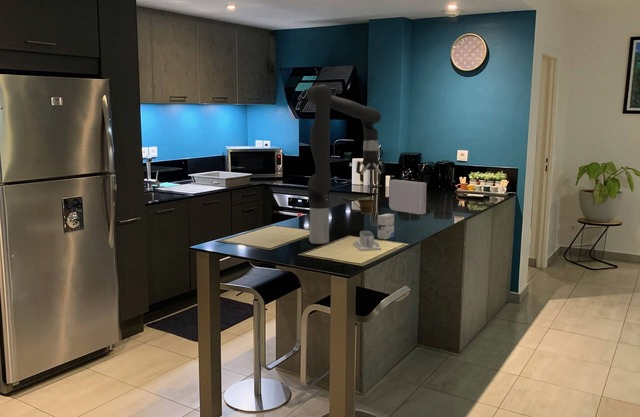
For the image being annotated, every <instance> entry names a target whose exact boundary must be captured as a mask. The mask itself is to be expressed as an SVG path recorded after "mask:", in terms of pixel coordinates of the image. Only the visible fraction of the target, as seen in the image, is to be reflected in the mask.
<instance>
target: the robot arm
mask: <svg viewBox="0 0 640 417" xmlns="http://www.w3.org/2000/svg"><path fill="white" fill-rule="evenodd" d="M306 98H307V100H308V102H309V103H310V104H312V105H314V106H315V117H314V121H313V124H312V126H311V130H310V138H309V139H310V145H309V146H310V151H311V154H312V157H313V161H314V167H315V170H314V172H315V173H314V174H312V175H311V176H309V178H308V182H307V196H308V197H307V199H308V203H309V223H308V224H309V225H308V227H309V228H308V229H309V230H308V232H309V235H308V236H309V237H308V238H309V243H311V244H315V245H318V244H319V245H320V244H321V245H322V244H327V243H328V244H329V242H330V206H329V205H330V203H329V200H328V198H327V196H326V195H327V193H328V192H330V190H331V189H332V188H331V187H332V177H331V165H330V164H331V163H330V162H331V161H330V155H331V152H330V148H331V147H330V146H331V135H330V134H331V133H330V129H331V128H330V127H331V125H330V124H331V123H330V122H331V120H330V118H331V109H332V110H335V111H338V112H340V113H342V114H345V115H347V116H350V117H353V118H355V119H360V120H361V125H362V126H361V127H362V129H363V145H362V149H363V151H362V152H363V153H362V154H363V155H362V157H363V158H362V161H360V160H359V161H358V160H357V161H356V168H355V169H356V174H359V181H360V182H361V183H364V174H365V172H366V171H367V170H368V171H371V170H372V171H373V170H375V171H376V173H377V174H376V175H377V179H376V180H377V182H378V183H380V182H381V180H382V174H384V173H385V172H386V170H385V169H386V168H385V165H386V164H385V160H384V161H383V160H381V161H379V138H378V137H379V133H378V132H379V130H378V129H377V128H375V126H374V124H377V123H379V122H380V121H381V118H382V115H381V113H380V111H379V110H378V109H376V108H374V107H369V106H367V105H363V104H361V103H358V102H356V101H354V100H351V99H347V98H343V97H339V96H335V95H333V94H332V91H331V89H330V87H329V86H328V85H326V84H316V85H312V86H310V87H309V88H308V90H306ZM379 165H380V169H379V167H378V166H379ZM361 166H363V167H362V169H361Z"/></svg>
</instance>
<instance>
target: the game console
mask: <svg viewBox="0 0 640 417" xmlns="http://www.w3.org/2000/svg"><path fill="white" fill-rule="evenodd" d="M388 183H389V184H388V186H389V187H388V188H389V190H388V192H389V193H388V207H389V209H390V210H391V211H397V212H403V213H409V214H414V215H415V214H416V215H425V214H426V212H427V211H426V210H427V182H421V181H411V180H401V179H389V182H388Z"/></svg>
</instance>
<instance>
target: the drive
mask: <svg viewBox="0 0 640 417" xmlns="http://www.w3.org/2000/svg"><path fill="white" fill-rule="evenodd" d="M369 237H372V247H374V240H375V234H374V233H373V232H372V231H370V230H360V232H359V242H360V243H361V244H362V246H364V247H369Z"/></svg>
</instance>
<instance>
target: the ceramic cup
mask: <svg viewBox="0 0 640 417" xmlns="http://www.w3.org/2000/svg"><path fill="white" fill-rule="evenodd" d="M355 202H358V204H359V205H358V204H356V203H355ZM374 203H375V198H373V197H359V198H358V199H355V200H354V201H353V204H354V205H356V206H357V207H358V208H359V209H360V214H361V215H362V214H365V215H364V216H371V215H372V214H373V209H374ZM370 214H371V215H370Z"/></svg>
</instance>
